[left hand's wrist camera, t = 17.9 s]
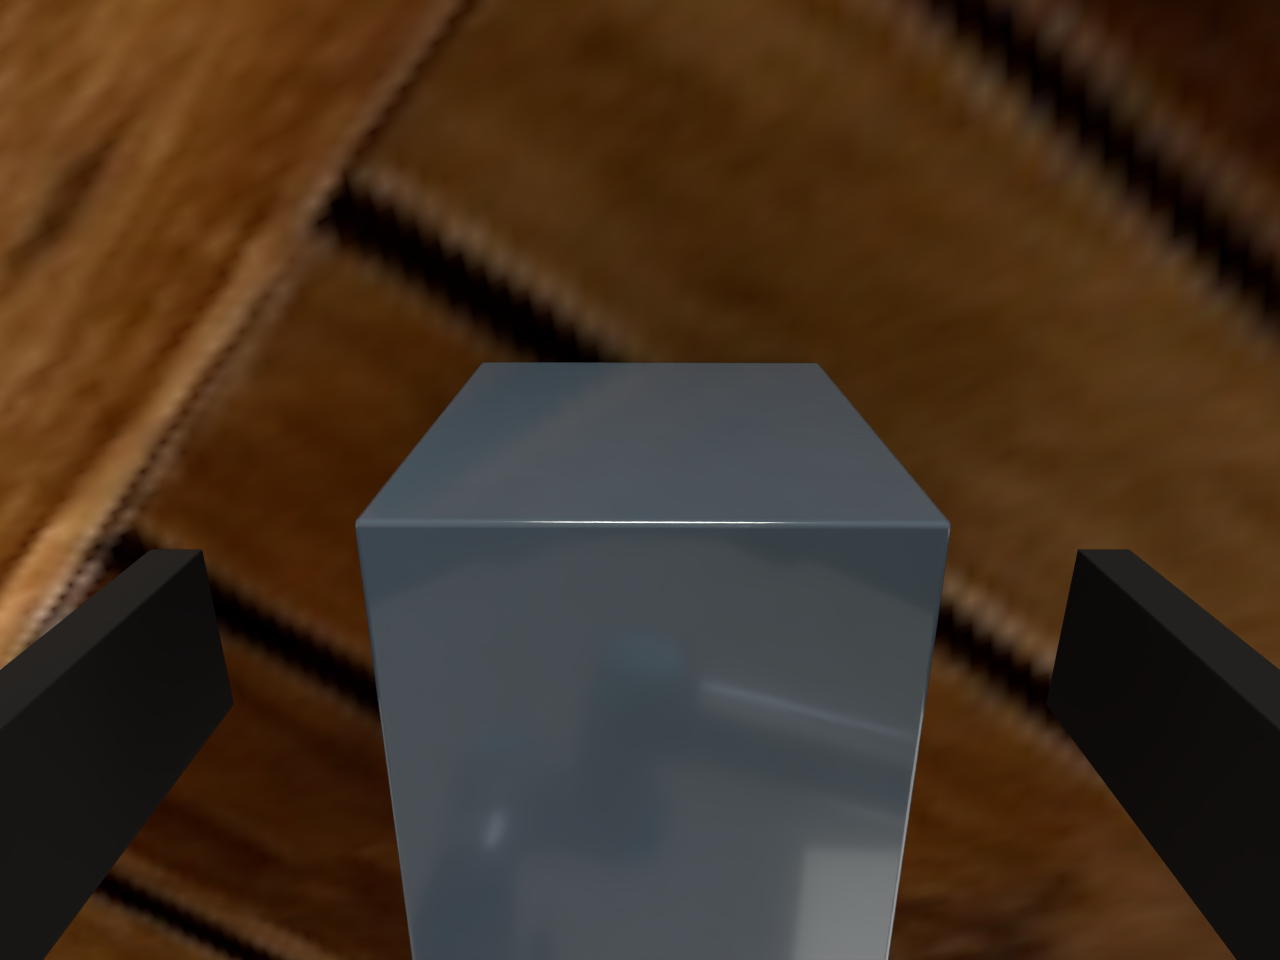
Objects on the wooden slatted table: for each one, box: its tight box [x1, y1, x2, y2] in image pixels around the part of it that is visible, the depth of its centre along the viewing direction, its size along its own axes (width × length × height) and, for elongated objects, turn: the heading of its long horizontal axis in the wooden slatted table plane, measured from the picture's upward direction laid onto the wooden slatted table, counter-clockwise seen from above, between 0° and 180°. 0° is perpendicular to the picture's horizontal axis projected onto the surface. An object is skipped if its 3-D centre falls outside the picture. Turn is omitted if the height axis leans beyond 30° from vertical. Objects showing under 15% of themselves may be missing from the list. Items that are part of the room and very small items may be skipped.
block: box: [355, 363, 951, 960], centre depth 13 cm, size 6×6×7 cm
